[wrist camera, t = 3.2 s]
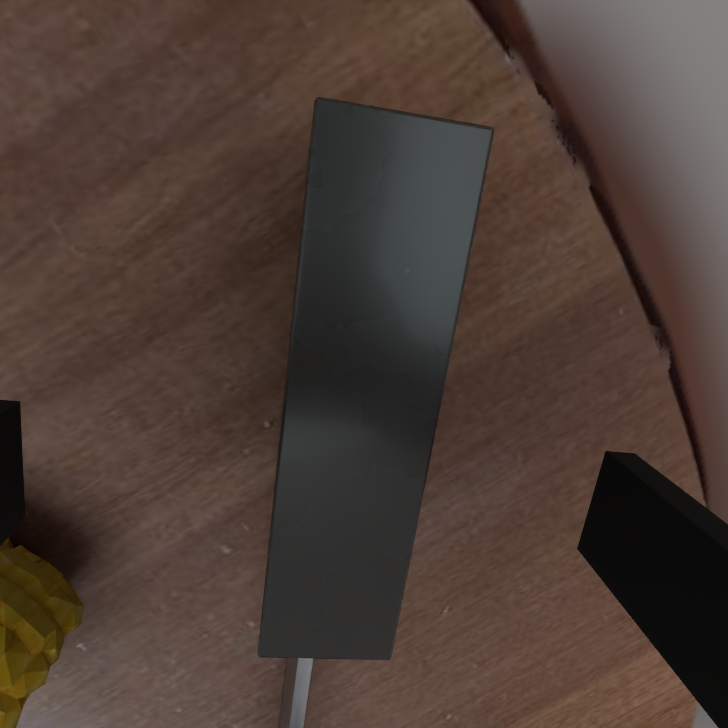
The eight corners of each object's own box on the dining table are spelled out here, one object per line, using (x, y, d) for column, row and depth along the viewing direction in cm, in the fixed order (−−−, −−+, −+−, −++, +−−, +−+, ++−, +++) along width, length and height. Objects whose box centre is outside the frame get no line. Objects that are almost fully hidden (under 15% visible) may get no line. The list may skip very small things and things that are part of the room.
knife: (309, 144, 13) (315, 95, 7) (403, 159, 14) (496, 126, 7) (242, 797, 20) (212, 1097, 13) (306, 796, 20) (307, 1088, 14)
